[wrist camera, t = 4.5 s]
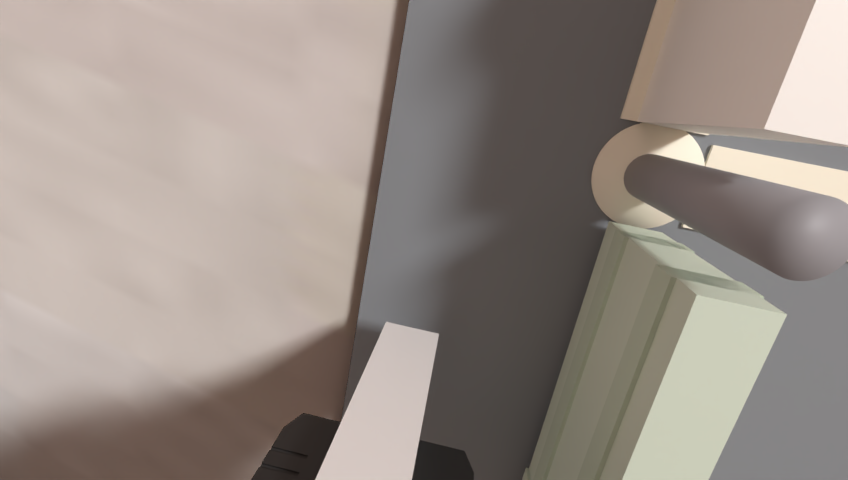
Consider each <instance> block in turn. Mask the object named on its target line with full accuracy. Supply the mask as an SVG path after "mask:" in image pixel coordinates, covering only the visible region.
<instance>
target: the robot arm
mask: <svg viewBox="0 0 848 480" xmlns="http://www.w3.org/2000/svg"><path fill="white" fill-rule="evenodd" d="M438 337H439V334H438V333H433V332H429V331H425V330H420V329H416V328H411V327H407V326H403V325H398V324H394V323H390V322H386V323H385V325H384V327H383V330H382V332H381V334H380V336H379V339H378V341H377V343H376V345H375V348H374V350H373V352H372V354H371V356H370V359H369V361H368V363H367V365H366V368H365V370H364V372H363V374H362V376H361V379H360V381H359V383H358V385H357V388H356V390H355V392H354V394H353V396H352V399H351V401H350V403H349V405H348V408H347V410H346V412H345V414H344V417H343V419H342V421H341V422H338V421H334V420H330V419H326V418H321V417H317V416H313V415H309V414H305V413H303V414H301V415H300V416H299V417H297V418H296V419H295V420H293V421H292V422H290V423H289V424H288V425H286V426H285V427H284V428H283V430H282V431H281V433H280V434H279V436H278V438H277V439H276V441H275V442H274V444H273V446H272V448H271V450H269V452H268V454H267V455H266V457H265V458H264V460H263V462H262V464H261V467H259V468H258V470H257V471H256V473H255V475H254V476H253V478H252V479H251V480H474V471H473V469H472V467H471V464H470V462H469V460H468V458H467V455H466V453H465V451H463V450H459V449H455V448H451V447H447V446H443V445H439V444H435V443H430V442H426V441H422V440H419V439H420V433H421V428H422V423H423V417H424V412H425V407H426V401H427V396H428V390H429V385H430V380H431V374H432V369H433V364H434V358H435V353H436V348H437V342H438Z"/></svg>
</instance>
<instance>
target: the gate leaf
mask: <svg viewBox="0 0 848 480" xmlns="http://www.w3.org/2000/svg"><path fill="white" fill-rule="evenodd" d="M694 253H695V252H694V251H693V250H691V249H690V248H688V247H686V246H685V245H683V244H682V243H678V242H676V241H674V240H673V239H671V238H670V237H668V236H667V235H665V234H664V233H662V232H658V231H653V230H648V229H644V228H639V227H634V226H629V225H625V224H620V223H615V222H610V221H609V222H608V226H607V229H606V232H605V235H604V238H603V241H602V244H601V247H600V250H599V253H598V257H597V260H596V263H595V266H594V269H593V272H592V275H591V278H590V281H589V284H588V287H587V291H586V294H585V297H584V300H583V303H582V306H581V309H580V312H579V315H578V318H577V321H576V325H575V328H574V331H573V334H572V337H571V340H570V343H569V346H568V349H567V352H566V355H565V359H564V362H563V365H562V368H561V371H560V374H559V377H558V380H557V383H556V386H555V389H554V393H553V396H552V399H551V402H550V405H549V408H548V411H547V414H546V417H545V420H544V423H543V427H542V430H541V433H540V436H539V439H538V442H537V445H536V448H535V451H534V454H533V457H532V461H531V464H530V467H529V468H526V469H525V472H524V475H523V478H522V480H709V478H710V476H711V474H712V471H713V469H714V467H715V465H716V463H717V461H718V459H719V457H720V455H721V453H722V450H723V448H724V446H725V444H726V442H727V440H728V438H729V436H730V434H731V432H732V429H733V427H734V425H735V423H736V421H737V419H738V417H739V415H740V413H741V411H742V408H743V406H744V404H745V402H746V400H747V398H748V396H749V394H750V392H751V390H752V388H753V385H754V383H755V381H756V379H757V377H758V375H759V373H760V371H761V369H762V367H763V364H764V362H765V360H766V358H767V356H768V354H769V352H770V350H771V348H772V346H773V343H774V341H775V339H776V337H777V335H778V333H779V331H780V329H781V327H782V325H783V322H784V320H785V318H786V316H787V314H786V313H784V312H783V311H781V310H780V309H778V308H777V307H775V306H774V305H772V304H770V303H769V302H767V301H766V300H764V296H762V295H761V294H759V293H758V292H756V291H755V290H753V289H751V288H750V287H748V286H747V285H745V284H744V283H742V282H738V281H735V280H734V279H732V278H731V277H729V276H728V275H726V274H725V273H723V272H722V271H720V270H719V269H717V268H716V267H714V266H713V265H711V264H710V263H708V262H706V261H705V260H703V259H702V258H700V257H699V256H697V255H696V254H694Z"/></svg>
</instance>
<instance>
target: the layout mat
mask: <svg viewBox="0 0 848 480" xmlns="http://www.w3.org/2000/svg"><path fill="white" fill-rule="evenodd" d="M675 1H676V0H409V5H408V11H407V18H406V24H405V30H404V36H403V42H402V48H401V55H400V61H399V67H398V73H397V79H396V86H395V92H394V98H393V104H392V110H391V116H390V123H389V129H388V135H387V141H386V147H385V154H384V160H383V166H382V172H381V178H380V184H379V191H378V197H377V203H376V209H375V215H374V221H373V228H372V234H371V240H370V246H369V252H368V259H367V265H366V271H365V277H364V283H363V289H362V296H361V302H360V308H359V314H358V320H357V327H356V333H355V339H354V345H353V351H352V357H351V364H350V370H349V376H348V382H347V388H346V395H345V401H344V407H343V413H342V419H343V417H344V414H345V412H346V410H347V408H348V405H349V403H350V401H351V399H352V396H353V394H354V392H355V390H356V388H357V385H358V383H359V381H360V379H361V376H362V374H363V372H364V370H365V368H366V365H367V363H368V361H369V359H370V356H371V354H372V352H373V350H374V348H375V345H376V343H377V341H378V339H379V336H380V334H381V332H382V330H383V327H384V325H385V323H386V322H390V323H394V324H398V325H403V326H407V327H411V328H416V329H420V330H425V331H429V332H433V333H438V334H439V337H438V342H437V348H436V353H435V358H434V364H433V369H432V374H431V380H430V385H429V390H428V396H427V401H426V407H425V412H424V417H423V423H422V428H421V433H420V439H419V440H422V441H426V442H430V443H435V444H439V445H443V446H447V447H451V448H455V449H459V450H463V451H465V453H466V455H467V458H468V460H469V462H470V464H471V467H472V469H473V471H474V480H522V478H523V475H524V472H525V469H526V468H529V467H530V464H531V461H532V457H533V454H534V451H535V448H536V445H537V442H538V439H539V436H540V433H541V430H542V427H543V423H544V420H545V417H546V414H547V411H548V408H549V405H550V402H551V399H552V396H553V393H554V389H555V386H556V383H557V380H558V377H559V374H560V371H561V368H562V365H563V362H564V359H565V355H566V352H567V349H568V346H569V343H570V340H571V337H572V334H573V331H574V328H575V325H576V321H577V318H578V315H579V312H580V309H581V306H582V303H583V300H584V297H585V294H586V291H587V287H588V284H589V281H590V278H591V275H592V272H593V269H594V266H595V263H596V260H597V257H598V253H599V250H600V247H601V244H602V241H603V238H604V235H605V232H606V229H607V226H608V222H609V221H610V222H615V223H620V224H625V225H629V226H634V227H639V228H644V229H648V230H653V231H658V232H662V233H664V234H665V235H667V236H668V237H670V238H671V239H673V240H674V241H676V242H678V243H682V244H683V245H685V246H686V247H688V248H690V249H691V250H693V251H694V252H695V253H694V254H696V255H697V256H699V257H700V258H702V259H703V260H705V261H706V262H708V263H710V264H711V265H713V266H714V267H716V268H717V269H719V270H720V271H722V272H723V273H725V274H726V275H728V276H729V277H731V278H732V279H734V280H735V281H738V282H742V283H744V284H745V285H747V286H748V287H750V288H751V289H753V290H755V291H756V292H758V293H759V294H761V295H762V296H764V300H766V301H767V302H769V303H770V304H772V305H774V306H775V307H777V308H778V309H780V310H781V311H783V312H784V313H786V314H787V316H786V318H785V320H784V322H783V325H782V327H781V329H780V331H779V333H778V335H777V337H776V339H775V341H774V343H773V346H772V348H771V350H770V352H769V354H768V356H767V358H766V360H765V362H764V364H763V367H762V369H761V371H760V373H759V375H758V377H757V379H756V381H755V383H754V385H753V388H752V390H751V392H750V394H749V396H748V398H747V400H746V402H745V404H744V406H743V408H742V411H741V413H740V415H739V417H738V419H737V421H736V423H735V425H734V427H733V429H732V432H731V434H730V436H729V438H728V440H727V442H726V444H725V446H724V448H723V450H722V453H721V455H720V457H719V459H718V461H717V463H716V465H715V467H714V469H713V471H712V474H711V476H710V478H709V480H848V260H847V261H846V263H845V264H844V265H842V266H841V267H840V268H839V269H837V270H836V271H834V272H833V273H831V274H829V275H827V276H824V277H822V278H819V279H815V280H810V281H793V280H788V279H785V278H782V277H780V276H778V275H776V274H774V273H773V272H771V271H769V270H767V269H765V268H763V267H762V266H760V265H758V264H756V263H754V262H752V261H751V260H749V259H747V258H745V257H743V256H741V255H740V254H738V253H736V252H734V251H732V250H730V249H729V248H727V247H725V246H723V245H721V244H719V243H718V242H716V241H714V240H712V239H710V238H708V237H707V236H705V235H703V234H701V233H699V232H697V231H696V230H694V229H692V228H690V227H688V226H686V225H685V224H683V223H681V222H679V221H677V220H675V219H674V218H672V217H670V216H668V215H666V214H664V213H663V212H661V211H659V210H657V209H655V208H653V207H652V206H650V205H648V204H646V203H644V202H642V201H641V200H639V199H637V198H635V197H633V196H632V195H631V194H629V192H628V191H627V190H626V188H625V185H624V173H625V170H626V168H627V167H628V165H629V164H630V163H631V162H632V161H633V160H634V159H636V158H637V157H639V156H641V155H645V154H656V155H660V156H665V157H669V158H673V159H677V160H681V161H685V162H690V163H694V164H698V165H702V166H706V167H711V168H715V169H719V170H723V171H727V172H731V173H736V174H740V175H744V176H748V177H752V178H757V179H761V180H765V181H769V182H773V183H777V184H782V185H786V186H790V187H794V188H798V189H802V190H807V191H811V192H815V193H819V194H823V195H828V196H831V197H835V198H838V199H840V200H842V201H844V202H845V203H847V204H848V147H841V146H831V145H820V144H810V143H799V142H789V141H778V140H768V139H757V138H747V137H736V136H726V135H715V134H705V133H694V132H688V131H683V130H678V129H673V128H668V127H663V126H658V125H653V124H647V123H642V122H637V120H638V117H639V114H640V111H641V107H642V104H643V101H644V98H645V95H646V92H647V89H648V86H649V83H650V79H651V76H652V73H653V70H654V67H655V64H656V61H657V58H658V54H659V51H660V48H661V45H662V42H663V39H664V36H665V33H666V30H667V26H668V23H669V20H670V17H671V14H672V11H673V8H674V5H675ZM342 419H341V421H342Z"/></svg>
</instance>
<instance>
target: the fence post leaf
mask: <svg viewBox="0 0 848 480" xmlns="http://www.w3.org/2000/svg"><path fill="white" fill-rule="evenodd" d="M637 122H642V123H647V124H653V125H658V126H663V127H668V128H673V129H678V130H683V131H688V132H694V133H705V134H715V135H726V136H736V137H747V138H757V139H768V140H778V141H789V142H799V143H810V144H820V145H831V146H841V147H848V0H676V1H675V5H674V8H673V11H672V14H671V17H670V20H669V23H668V26H667V30H666V33H665V36H664V39H663V42H662V45H661V48H660V51H659V54H658V58H657V61H656V64H655V67H654V70H653V73H652V76H651V79H650V83H649V86H648V89H647V92H646V95H645V98H644V101H643V104H642V107H641V111H640V114H639V117H638V120H637ZM624 185H625V188H626V190H627V191H628V192H629V194H631V195H632V196H633V197H635V198H637V199H639V200H641V201H642V202H644V203H646V204H648V205H650V206H652V207H653V208H655V209H657V210H659V211H661V212H663V213H664V214H666V215H668V216H670V217H672V218H674V219H675V220H677V221H679V222H681V223H683V224H685V225H686V226H688V227H690V228H692V229H694V230H696V231H697V232H699V233H701V234H703V235H705V236H707V237H708V238H710V239H712V240H714V241H716V242H718V243H719V244H721V245H723V246H725V247H727V248H729V249H730V250H732V251H734V252H736V253H738V254H740V255H741V256H743V257H745V258H747V259H749V260H751V261H752V262H754V263H756V264H758V265H760V266H762V267H763V268H765V269H767V270H769V271H771V272H773V273H774V274H776V275H778V276H780V277H782V278H785V279H788V280H793V281H810V280H815V279H819V278H822V277H824V276H827V275H829V274H831V273H833V272H834V271H836V270H837V269H839V268H840V267H841V266H842V265H844V264H845V263H846V261H847V260H848V204H847V203H845V202H844V201H842V200H840V199H838V198H835V197H831V196H828V195H823V194H819V193H815V192H811V191H807V190H802V189H798V188H794V187H790V186H786V185H782V184H777V183H773V182H769V181H765V180H761V179H757V178H752V177H748V176H744V175H740V174H736V173H731V172H727V171H723V170H719V169H715V168H711V167H706V166H702V165H698V164H694V163H690V162H685V161H681V160H677V159H673V158H669V157H665V156H660V155H656V154H645V155H641V156H639V157H637V158H636V159H634V160H633V161H632V162H631V163H630V164H629V165H628V167H627V168H626V170H625V173H624Z"/></svg>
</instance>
